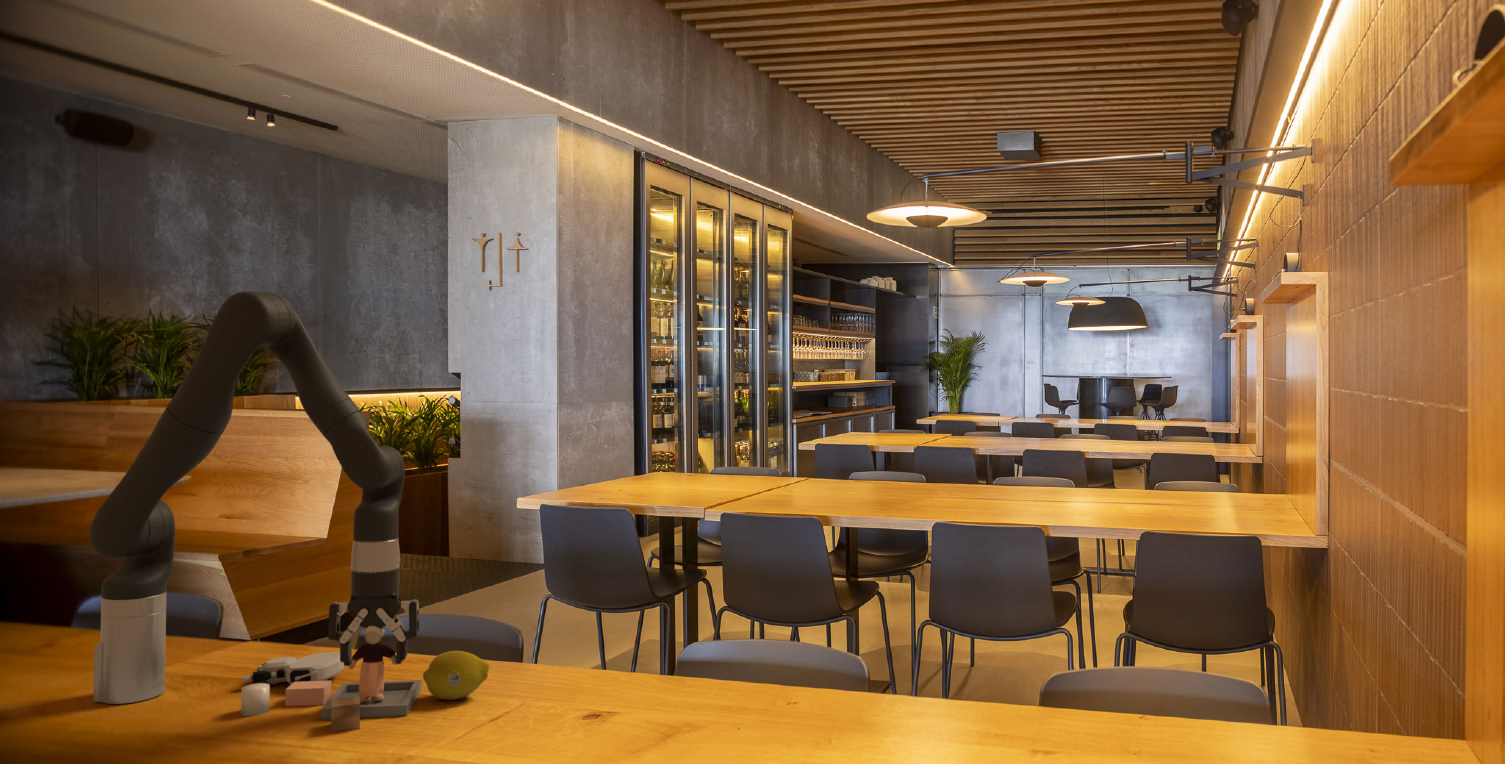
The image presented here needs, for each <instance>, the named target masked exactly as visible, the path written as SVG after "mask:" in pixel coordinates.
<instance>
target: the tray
mask: <svg viewBox="0 0 1505 764" xmlns="http://www.w3.org/2000/svg"><path fill="white" fill-rule="evenodd" d="M422 682H423V681H422V680H421V679H414V680H413V679H412V680H411V679H410V680H409V679H408V680H388V681H385V680H384V690H383V692H382V694H383V696H384V699H382V700H376V701H374V700H371V698H372V697H369V698H368V700H366V701H363V702H360V719H366V718H368V719H369V718H386V717H387V718H388V717H389V718H390V717H406V716H408V715H409V713H410V710H411V709H412V707H414V704H415V702H416V700H417V698H418V697H417V696H419V695H420V693H421V691H422ZM359 695H360V694H359V682H344V683H342V684H341V685H340V686H339V687H338V688H337V690H336V691H335V692H334V693H333V694H332V695H331V698H330V699H329V700H328V701H327V702H326V703H325V704H324V705H322V707H321V709H320V720H321V721H322V720H323V721H327V720H328V721H329V720H331V699H337V698H346V697H354V696H359Z"/></svg>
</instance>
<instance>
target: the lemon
mask: <svg viewBox="0 0 1505 764" xmlns="http://www.w3.org/2000/svg"><path fill="white" fill-rule="evenodd" d="M489 670H490V664H489V662H488V661H486V660H484V659H482V658H480V657H479V656H477V655H475V654H473V653H471V652H467V651H462V650H451V651H447V652H443V653H440V654H438V655H436V656H435V657H434V658H433V659H432V660H431V662H430V664H429V666H428V668H427V669H426V670H425V671H424V672H423V673H422V678H423V680H424V682H425V683H426V687H427V690H428V692H429V693H430V694H431V695H432V696H433V697H435V698H437V699H439V700H444V701H456V700H460V699H462V698H464V697H466V696H469V695H471V694H472V693H474V692H475V691H476V690H477V689H478V688H479V687H480V686H481V685H482V684H483V682H485V681H486V680H487V679H488V674H489Z"/></svg>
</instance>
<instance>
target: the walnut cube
mask: <svg viewBox="0 0 1505 764" xmlns="http://www.w3.org/2000/svg"><path fill="white" fill-rule="evenodd" d="M360 729H361V718H360V699H359V696H354V697H346V698H337V699H331V719H330V733H331V734H333V733H340V732H348V731H356V730H360Z"/></svg>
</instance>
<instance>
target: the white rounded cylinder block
mask: <svg viewBox="0 0 1505 764" xmlns="http://www.w3.org/2000/svg"><path fill="white" fill-rule="evenodd" d="M270 685H271V684H269V683H266V682H260V683H254V684H253V683H252V684H247V685H245V686H243V687H241V696H240V697H241V699H240V700H241V701H240V702H241V703H240V705H241V706H240V714H241V716H244V717H255V716H261V715H263V714H267V713H268V712H269V711H270V688H271V687H270Z"/></svg>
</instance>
